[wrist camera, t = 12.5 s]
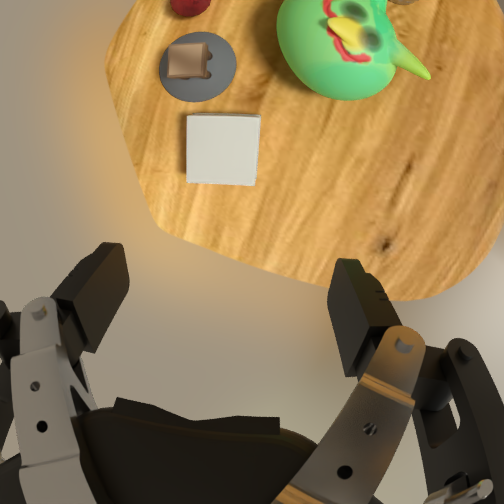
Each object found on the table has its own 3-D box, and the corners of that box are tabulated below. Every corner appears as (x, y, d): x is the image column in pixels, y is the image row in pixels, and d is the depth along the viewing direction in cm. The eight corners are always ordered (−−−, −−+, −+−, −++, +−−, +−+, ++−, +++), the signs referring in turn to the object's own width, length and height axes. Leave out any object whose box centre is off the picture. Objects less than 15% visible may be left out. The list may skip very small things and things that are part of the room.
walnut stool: (182, 52, 34) (168, 44, 28) (213, 51, 34) (204, 42, 28) (181, 80, 36) (166, 77, 30) (211, 79, 36) (202, 75, 30)
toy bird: (258, 12, 31) (257, -26, 18) (356, -6, 28) (392, -38, 15) (298, 111, 39) (317, 115, 26) (393, 89, 36) (443, 90, 23)
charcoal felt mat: (162, 35, 32) (161, 35, 32) (238, 31, 33) (238, 31, 32) (158, 103, 38) (157, 103, 38) (234, 102, 39) (233, 102, 38)
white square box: (193, 113, 39) (185, 114, 35) (260, 115, 39) (261, 116, 35) (192, 175, 45) (185, 184, 40) (256, 178, 45) (256, 187, 40)
